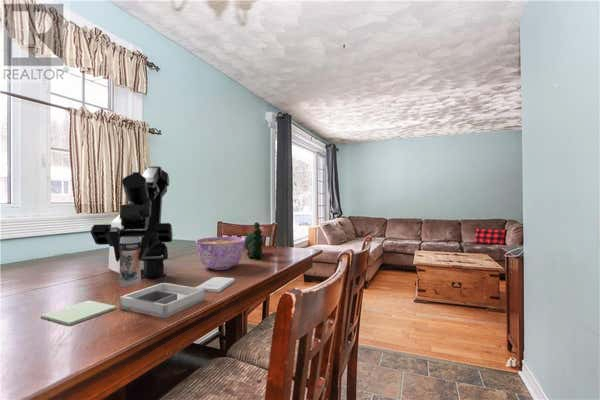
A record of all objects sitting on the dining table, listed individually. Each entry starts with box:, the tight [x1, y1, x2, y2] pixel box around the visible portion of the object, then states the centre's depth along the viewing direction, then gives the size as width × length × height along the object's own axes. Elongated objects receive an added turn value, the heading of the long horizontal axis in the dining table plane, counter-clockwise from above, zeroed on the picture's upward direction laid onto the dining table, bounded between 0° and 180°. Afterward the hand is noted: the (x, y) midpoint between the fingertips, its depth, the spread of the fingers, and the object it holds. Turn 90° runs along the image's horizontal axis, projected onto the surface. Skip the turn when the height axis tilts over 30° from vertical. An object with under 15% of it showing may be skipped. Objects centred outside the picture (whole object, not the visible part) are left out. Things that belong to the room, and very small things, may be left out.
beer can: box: [119, 237, 142, 288], centre depth 75 cm, size 5×5×12 cm
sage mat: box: [40, 300, 117, 326], centre depth 73 cm, size 11×11×1 cm
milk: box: [107, 214, 144, 274], centre depth 119 cm, size 12×12×26 cm
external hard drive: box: [194, 276, 236, 293], centre depth 97 cm, size 2×8×12 cm
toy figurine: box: [244, 221, 264, 260], centre depth 144 cm, size 9×19×25 cm
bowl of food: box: [195, 236, 245, 271], centre depth 121 cm, size 20×20×12 cm
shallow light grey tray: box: [118, 282, 206, 319], centre depth 80 cm, size 16×14×3 cm
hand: (128, 260), depth 73 cm, fingers closed on beer can, 5 cm apart
